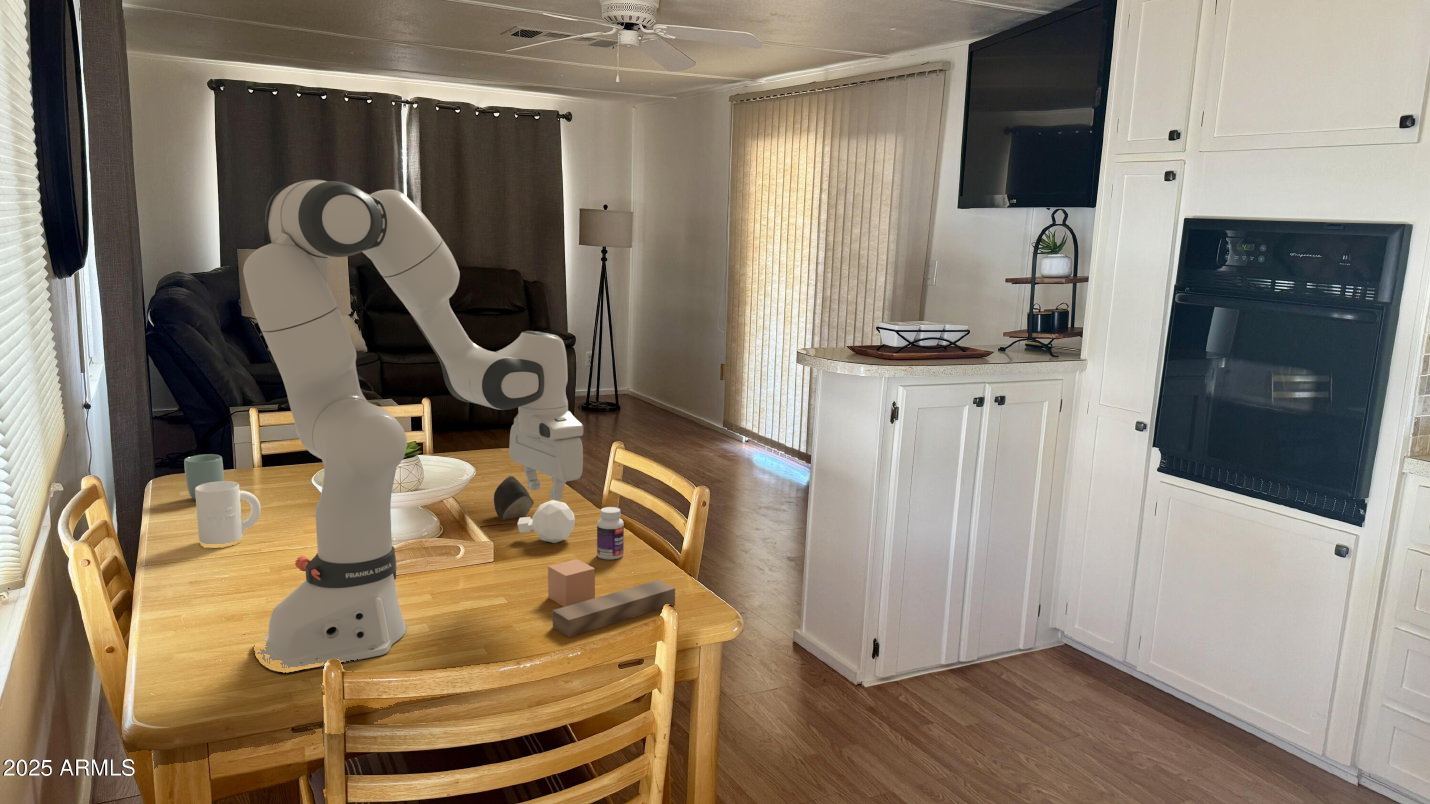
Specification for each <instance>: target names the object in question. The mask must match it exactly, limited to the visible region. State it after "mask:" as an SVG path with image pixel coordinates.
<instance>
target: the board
mask: <svg viewBox="0 0 1430 804" xmlns="http://www.w3.org/2000/svg"><path fill="white" fill-rule="evenodd" d="M665 604H670V605H671V606H673V605H672V604H674V605H676V588H675V587H673V586H672V585H669V584H667V583H666V582H664V581H662V580H659V579H657V580H653V581H649V582H646V583H643V584H638V585H637V586H633V587H629V588H625V589H621V590H619V591H615V592H612V593H608V594H605V595H601V596H598V597H597V596H596V597H595V598H594V599H590V600H587V601H583V602H580V603H576V604H573V605H569V606H566V607H564V606H562V607H560V608H559V607H558V608H555V609H552V628H553V629H555V630H556V631H558V632H560V633H561V634H563V635H565V636H566V638H567V637H568V638H572V637H574V636H578V635H580V634H581V635H582V634H585V633H588V632H591V631H594V630H597V629H601V628H604V627H606V626H610V625H614V624H616V623H619V622H623V621H626V620H629V619H632V618H635V617H639V616H642V615H646V614H649V613H651V612H655V611H658V610H661V609H663V608H662V607H663V606H664V605H665Z"/></svg>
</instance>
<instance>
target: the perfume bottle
mask: <svg viewBox="0 0 1430 804" xmlns="http://www.w3.org/2000/svg"><path fill="white" fill-rule="evenodd" d="M575 522H576V518H575V513H574V512H573V511H572V509H571V508H570V507H569V506H568V505H567V503H566V502H562V501H560V500H553V499H551V500H549V501H546V502H544V503H541V504H539V506H538V507H537V509H536V510H535V512H534V514H533V515H532V518H531V516H522V517H518V521H517V528H518V531H519V533H520V534H523V533H531V532H532V530H533V532H535V534H536V535H537V536H538V537H539V538H540V540H541V541H544V542H547V543H548V542H549V543H551V544H557V543H559V542H561V541H564V540H566V539H568V537H569V536H570V535H571V533H572V531H573V529H575V525H576V524H575Z"/></svg>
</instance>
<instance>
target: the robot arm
mask: <svg viewBox="0 0 1430 804" xmlns="http://www.w3.org/2000/svg"><path fill="white" fill-rule="evenodd" d="M264 219H265V221H264V223H265V225H264V232H263V238H262V239H263V240H262V241H263V244H264V245H263V246H261V247H259V248H257V249H256V250H254V251H253V252H252V253H251V254H250V255H248V256H247V258H246V260H245V262H244V265H243V269H242V271H243V277H244V283H245V287H246V292H247V295H248V299H249V301H250V305H251V309H252V311H253V314H254V316H255V319H256V322H257V324H258V326H259V328H260V331H261V333H262V336H263V337H264V339H265V343H266V345H267V347H268V349H269V352H270V353H271V356H272V358H273V360H274V362H275V364H276V367H277V369H278V372H279V374H280V376H281V379H282V381H283V385H284V388H285V391H286V395H287V396H286V397H287V401H288V404H289V408H290V411H291V414H292V417H293V421H294V428H295V432H296V435H297V436H298V439H299V441H300V443H302V446H304V448H305V449H306V450H307V451H308V452H309V453H310V454H312V455H313V456H315V457H316V458H318V459H320V460H321V461H322V465H323V469H324V470H323V471H324V473H323V482H322V488H321V493H320V497H319V500H318V501H317V503H316V505H315V507H314V508H315V510H314V514H315V527H316V528H315V529H316V546H317V548H316V549H317V553H316V554H315V555H314V557H313V558H312V559H311V560H310V559H309V558H308V557H307V556H304V555H300V556H298V557H297V558H296V559H295V562H294V565H295V567H296V568H297V569H298V570H299V571H301V572H305V579H306V580H304V581H303V582H302V583H301V584H300V585H299V586H297V588H295V589H294V590H293V591H292V592H291V593H290V594H289V595H288V596H286V597H285V598H284V599H283V600H282V601H281V602H280V603H278V604H277V605H276V606H275V607H274V608H273V609H272V612H271V614H270V617H269V618H270V619H269V625H268V633H267V634H268V635H267V634H266V635H267V638H265V637H266V636H264V635H263V636H264V638H265V639H264V641H265V640H266V639H268V640H266V642H267V643H266V645H265V646H267V647H265V649H266V651H265V650H264V649H263V650H261V649H260V651H261V653H260V652H258V653H257V654H261V655H262V654H263V657H262V659H263V660H264V661H265V662H266V659H265V655H264V654H268V655H270V657H269V664H270V659H272V660H273V661H274V660H281V661H283V662H282V663H280V664H281V665H282V668H285V665H287V666H288V668H290V667H298V666H305V665H308V664H315V663H322V662H324V664H325V663H326V662H327V660H330V659H339V660H340V661H342V660H343V661H344V663H347V662H346V661H349V662H351V661H350V660H354V661H359V660H363V659H368V658H373V657H378V656H383V655H385V654H387V653H388V652H389V651H390V649H391V647H392V645H393V644H395V643H396V642H397V641H399V640H400V639H401V638H402V637H403V636H404V635H405V633H406V632H407V626H406V622H405V620H404V617H403V615H402V611H401V608H400V603H399V598H398V593H397V588H396V587H397V586H396V581H395V580H396V579H397V556H396V552H395V551H396V550H395V547H394V545H393V542H392V518H391V517H392V516H391V503H392V502H391V501H392V493H393V488H394V482H395V476H396V471H397V468H398V466H399V465H400V464H401V463H402V461H403V459H404V457H405V455H406V452H407V448H408V445H407V443H408V440H407V434H406V432H405V430H404V428H403V426H402V425H401V423H400V422H399V421H398V419H397V418H396V417H394V415H392V414H391V412H389V411H388V410H386V409H385V408H383V407H382V406H381V407H380V406H378V405H376V404H373V403H371V402H369V401H368V400H367V399H366V397H365V395H364V394H363V392H362V390H361V387H360V386H361V385H360V381H359V377H358V371H357V364H356V362H357V350H356V348H355V345H354V344H353V341H352V338H351V336H350V333H349V330H348V329H347V325H346V323H345V321H344V318H343V315H342V313H341V311H340V309H339V307H338V304H337V301H336V300H335V297H334V294H333V292H332V291H331V289H330V286H329V280H328V273H327V271H328V270H327V269H328V264H329V263H328V262H329V260H330V258H332V257H333V258H346V257H350V256H354V255H357V254H360V253H363V254H364V255H365V256H366V257H367V258H368V259H370V261H371V262H372V263H373V265H374V267H375V268H376V269H377V271H378V272H379V274H380V275H381V277H382V278H383V280H385V282H386V283H387V285H388V286H389V288H391V290H392V292H393V293H394V294H395V295H396V296H397V297H398V299H399V300H400V301H401V302H402V304H403V305H404V306H405V308H406V309H407V311H408V312H409V314H410V315H411V317H412V319H413V320H414V322H415V324H416V326H418V329H419V330H420V332H421V333H422V334H423V336H424V338H425V339H426V340H427V342H428V344H429V345H430V347H431V349H432V351H433V352H434V353H435V356H436V357H437V358H438V361H439V364H440V366H441V371H442V375H443V380H444V383H445V386H446V388H447V390H448V391H449V393H450V394H451V395H452V396H453V397H454V398H456V400H459V401H461V402H465V403H471V404H476V405H477V404H478V405H481V406H484V407H488V408H491V409H495V410H499V411H500V410H501V411H505V410H507V411H508V410H513V409H517V408H518V410H517V411H518V413H517V415H516V416H515V417H514V419H513V424H512V425H511V428H510V433H509V447H508V449H509V450H508V451H509V453H508V454H509V456H510V461H512V462H515V463H518V464H520V465H521V466H523V471H524V472H523V473H524V475H525V477H526V480H527V488H528V489H529V490H531V491H538V490H540V489H541V488H540V487H541V485H540V484H541V480H540V479H538V474H537V472H539V473H542V474H544V475H546V476H549V477H551V482H552V483H553V484H552V488H550V489H549V498H550V499H551V500H555V501H561V500H562V499H563V490H564V487H565V484H566V483H567V482H570V481H571V482H572V481H576V480H579V479H580V478H581V476H582V475H583V468H584V467H583V466H584V465H583V463H584V454H583V453H584V449H583V443H582V439H581V438H580V437H581V436H583V435H584V425H583V424H582V423H581V422H580V421H579V420H578V419H577V418H576V417H575V416H574V415H573V413H572V412H571V411H570V410H569V400H568V398H567V394H566V393H567V392H566V389H567V388H566V387H567V385H568V380H569V379H568V377H569V375H568V373H569V371H568V358H567V357H568V356H567V351H566V350H567V349H566V345H565V343H564V340H563V339H562V338H561V337H560V336H559V335H556V334H554V333H553V334H552V333H548V332H541V331H535V330H534V331H533V330H525V331H522V332H521V333H520V334H519V336H518V337H517V338H516V339H515V340H514V341H513V342H512V343H510V344H508V345H507V346H505V347H503V348H502V349H499V350H496V351H491V350H488V349H485V348H483V347H481V346H479V345H477V344H476V342H475V343H474V342H473V341H472V340H471V339H470V338H469V335H468V334H467V332H466V331H465V330H464V329H465V328H463V326H462V324H461V323H460V321H459V318H457V316H456V314H455V313H454V311H453V309H452V307H451V305H450V298H451V297H453V295H454V294H455V293H456V290H457V288H458V286H459V284H460V283H459V282H460V276H461V274H460V270H459V267H458V264H457V262H456V259H455V257H454V255H453V254H452V252H451V250H450V248H449V246H448V245H447V244H446V242H445V241H444V239H443V238H442V237H441V234H439V232H438V231H437V229H436V228H435V226H433V224H432V223H431V222H430V220H429V219H428V218H427V216H426V215H425V214H424V213H423V212H422V211H421V210H420V208H419V207H418V206H417V205H416V204H415V203H414V202H413V201H412V200H411V199H410V198H409V197H408V196H407V195H405V193H403V192H401V191H400V190H397V189H390V188H389V189H382V190H378V191H374V192H372V193H369V194H368V193H367V192H365V191H363V190H361V189H360V188H358V187H356V186H354V185H352V184H349V183H346V182H343V181H336V180H330V181H327V180H323V179H308V180H301V181H297V182H296V181H295V182H291V183H288V184H285V185H284V186H281V187H280V188H279V189H277V190H276V191H275V192H274V193H273V195H271V196H270V199H269V201H268V202H267V206H266V208H265V218H264ZM260 637H261V636H260ZM261 638H262V637H261ZM259 641H260V640H259ZM262 641H263V640H262ZM318 659H319V660H318ZM357 659H358V660H357ZM267 663H268V658H267ZM283 664H284V667H283ZM324 664H323V665H324ZM323 665H322V667H321V668H323ZM287 666H286V668H287Z"/></svg>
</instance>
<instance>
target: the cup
mask: <svg viewBox="0 0 1430 804" xmlns="http://www.w3.org/2000/svg"><path fill="white" fill-rule="evenodd" d="M183 461H184V462H183V463H184V475H185V482H186V483H185V484H186V489H187V492H188V495H189V496H190V497H191V499H193V500H194V499H196V497H195V488H196V487H197V486H199V485H202V484H205V483H210V482H218V481H225V479H224V477H225V476H224V475H225V474H224V463H223V457H222V456H221V455H219V454H215V453H214V454H213V453H210V454H206V453H205V454H197V455H193V456H188V457H186V458H184V460H183Z"/></svg>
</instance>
